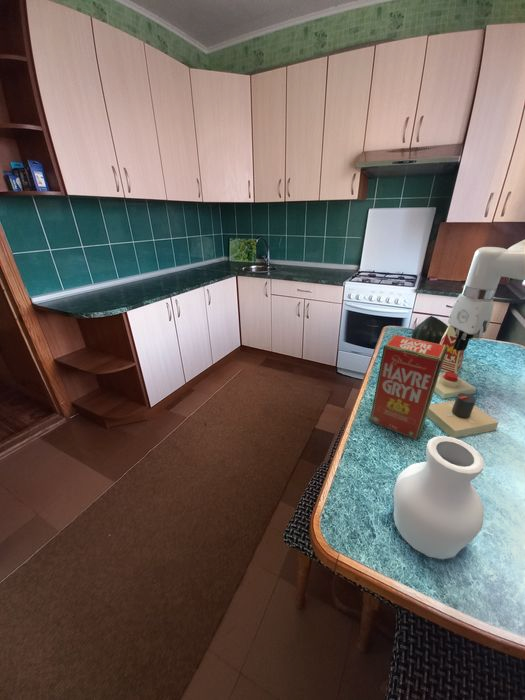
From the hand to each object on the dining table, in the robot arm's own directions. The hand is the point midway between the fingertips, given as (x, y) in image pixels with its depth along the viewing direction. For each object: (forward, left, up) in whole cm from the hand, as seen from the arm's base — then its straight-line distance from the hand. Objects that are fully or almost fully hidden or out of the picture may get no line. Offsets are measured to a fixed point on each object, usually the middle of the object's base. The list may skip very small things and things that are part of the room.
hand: (459, 349), depth 92 cm
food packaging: (+27, +11, -15) cm, 33 cm away
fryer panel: (+10, +15, -15) cm, 23 cm away
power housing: (0, 0, -15) cm, 15 cm away
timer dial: (+10, +15, -12) cm, 22 cm away
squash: (-14, -26, -15) cm, 33 cm away
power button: (0, 0, -11) cm, 11 cm away
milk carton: (-10, -12, -15) cm, 22 cm away
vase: (+40, +39, -15) cm, 58 cm away
